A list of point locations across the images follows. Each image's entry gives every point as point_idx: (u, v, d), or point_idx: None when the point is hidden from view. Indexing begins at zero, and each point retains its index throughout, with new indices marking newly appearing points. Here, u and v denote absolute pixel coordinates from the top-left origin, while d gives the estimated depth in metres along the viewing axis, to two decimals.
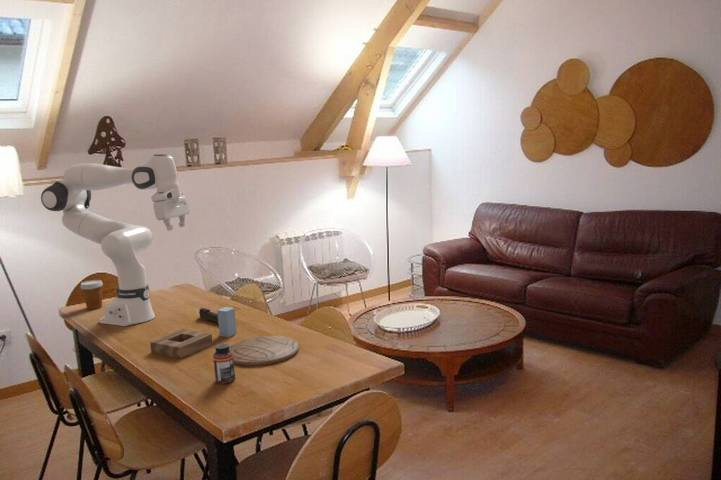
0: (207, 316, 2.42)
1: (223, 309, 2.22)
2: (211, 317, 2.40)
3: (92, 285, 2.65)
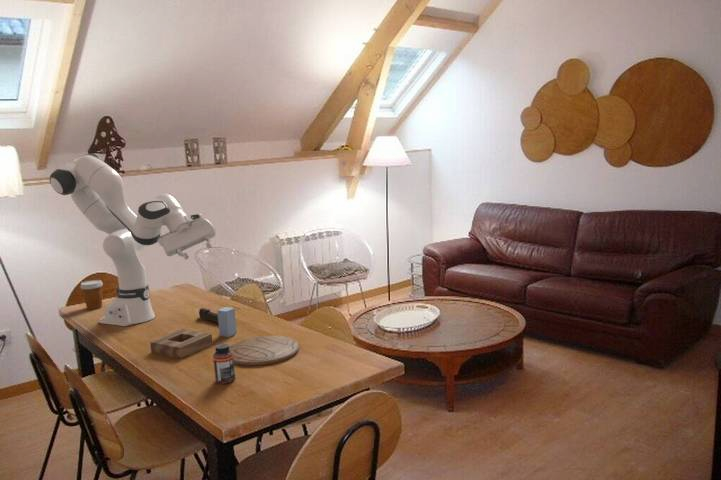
0: (207, 316, 2.42)
1: (223, 309, 2.22)
2: (211, 317, 2.40)
3: (92, 285, 2.65)
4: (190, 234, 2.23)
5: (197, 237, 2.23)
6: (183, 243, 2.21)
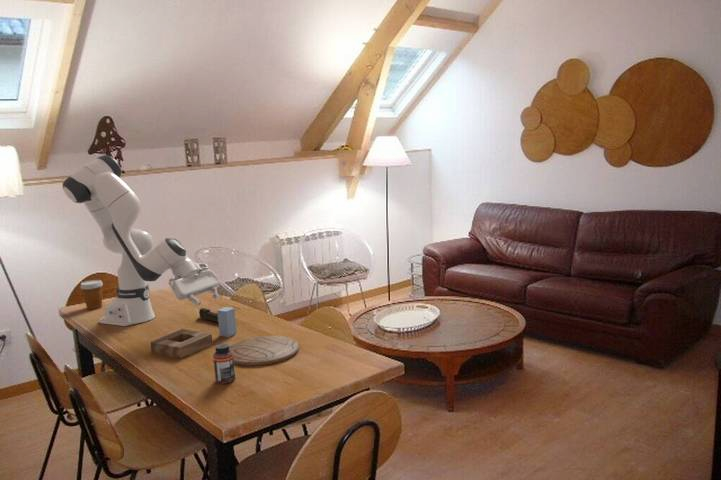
0: (207, 316, 2.42)
1: (223, 309, 2.22)
2: (211, 317, 2.40)
3: (92, 285, 2.65)
4: (200, 282, 2.27)
5: (207, 286, 2.28)
6: (196, 289, 2.23)
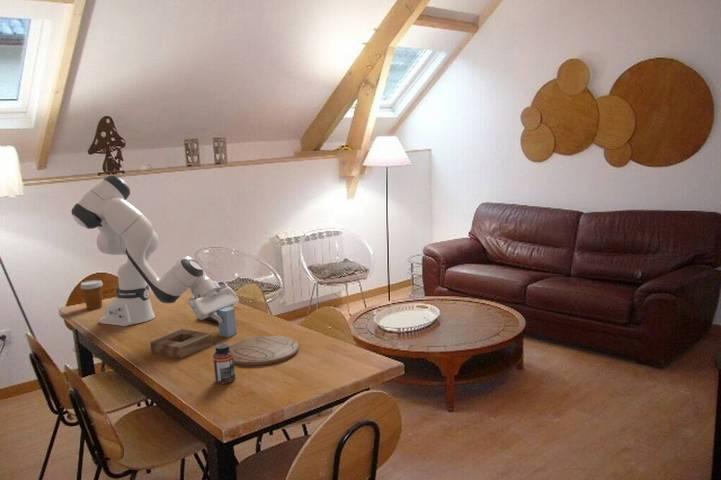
0: None
1: (223, 309, 2.22)
2: None
3: (92, 285, 2.65)
4: (219, 300, 2.25)
5: (226, 304, 2.25)
6: (215, 308, 2.21)
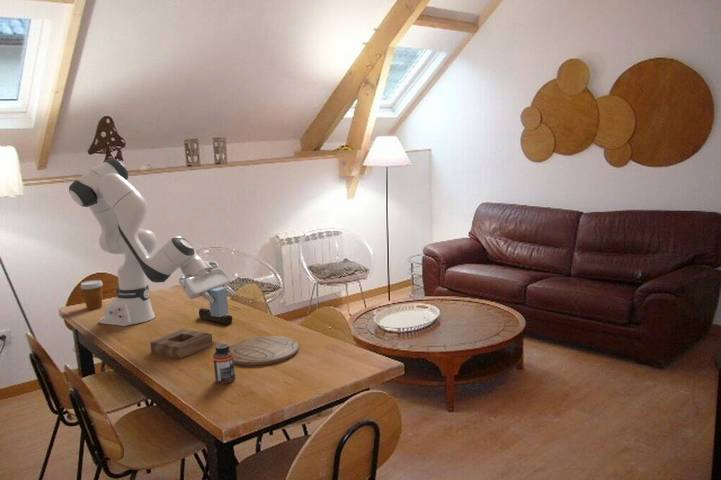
0: (207, 316, 2.42)
1: (214, 289, 2.19)
2: (212, 317, 2.40)
3: (92, 285, 2.65)
4: (210, 280, 2.21)
5: (217, 284, 2.22)
6: (207, 288, 2.17)
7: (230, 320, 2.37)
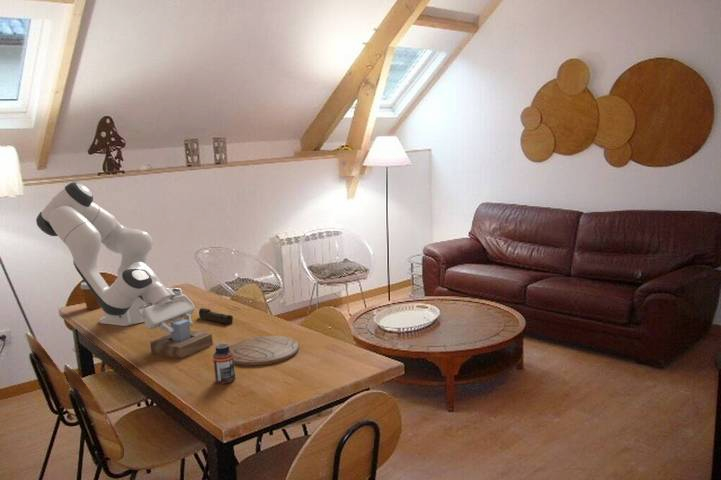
0: (208, 316, 2.42)
1: (177, 322, 2.10)
2: (212, 317, 2.40)
3: None
4: (173, 308, 2.12)
5: (180, 312, 2.12)
6: (168, 317, 2.08)
7: (231, 320, 2.37)
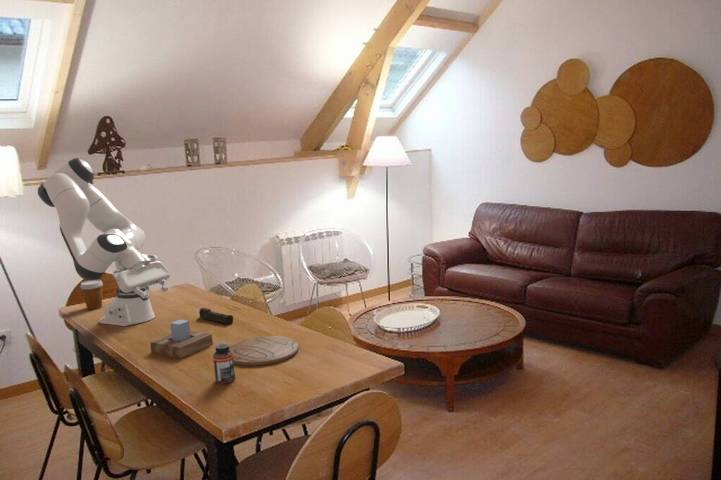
0: (208, 316, 2.42)
1: (177, 322, 2.10)
2: (213, 317, 2.40)
3: (92, 285, 2.65)
4: (147, 274, 2.16)
5: (155, 278, 2.16)
6: (142, 281, 2.12)
7: (231, 320, 2.37)
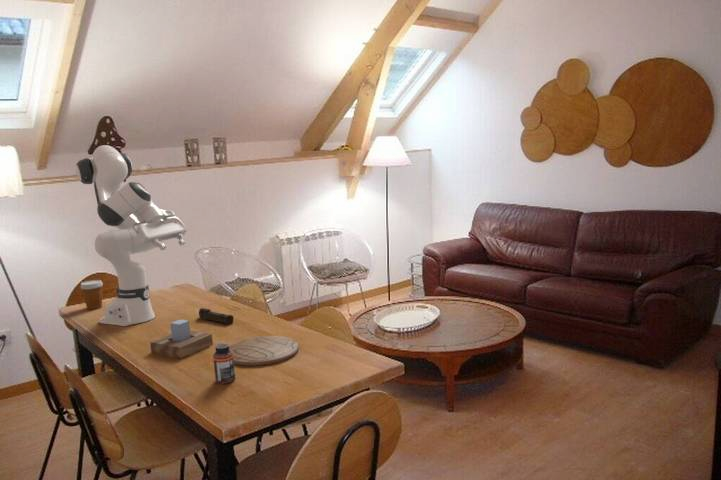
0: (208, 316, 2.42)
1: (177, 322, 2.10)
2: (213, 317, 2.40)
3: (92, 285, 2.65)
4: (165, 227, 2.23)
5: (172, 232, 2.24)
6: (160, 234, 2.19)
7: (232, 320, 2.37)
